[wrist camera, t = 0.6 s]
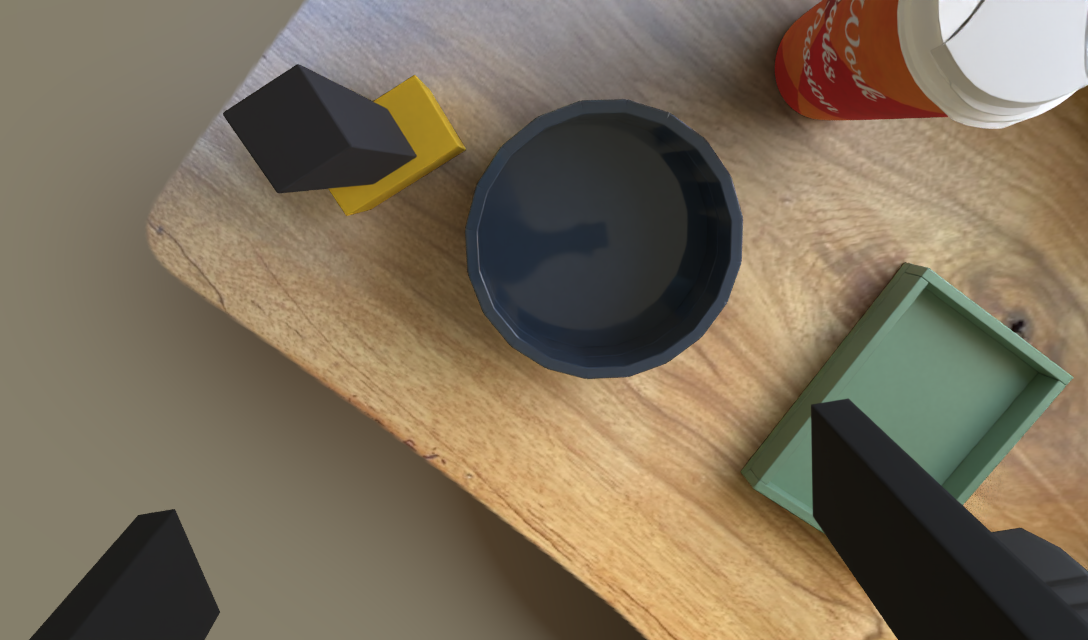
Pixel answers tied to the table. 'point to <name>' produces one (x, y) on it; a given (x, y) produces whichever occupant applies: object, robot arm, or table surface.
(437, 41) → the table surface
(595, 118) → the bowl
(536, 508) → the table surface
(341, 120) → the sponge wand
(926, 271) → the green rectangular tray
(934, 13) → the paper cup
